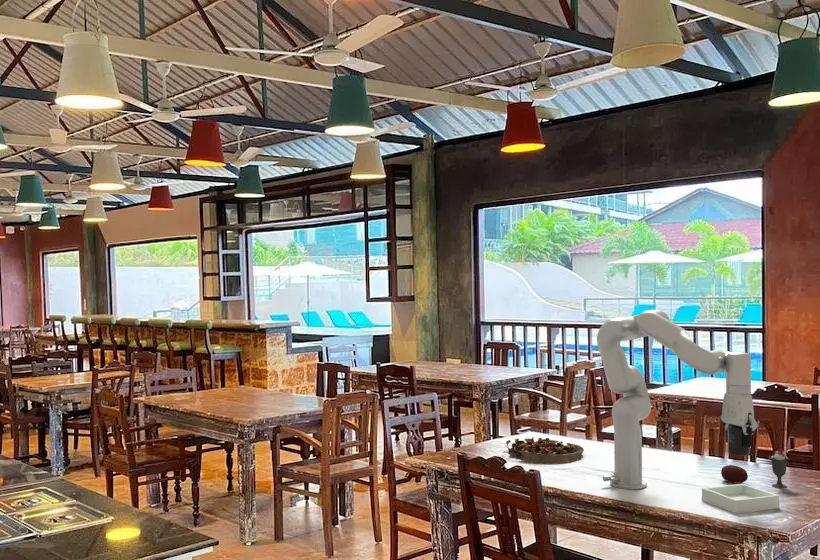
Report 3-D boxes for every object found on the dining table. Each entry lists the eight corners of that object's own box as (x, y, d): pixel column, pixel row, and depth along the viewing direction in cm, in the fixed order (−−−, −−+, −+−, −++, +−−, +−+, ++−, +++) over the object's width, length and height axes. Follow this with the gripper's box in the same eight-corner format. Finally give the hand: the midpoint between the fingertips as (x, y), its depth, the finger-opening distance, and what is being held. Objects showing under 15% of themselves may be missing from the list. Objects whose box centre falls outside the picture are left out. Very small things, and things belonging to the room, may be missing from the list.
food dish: (505, 448, 353) (505, 430, 353) (580, 451, 348) (580, 433, 349) (503, 463, 318) (503, 444, 319) (587, 467, 314) (587, 447, 314)
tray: (736, 513, 248) (736, 500, 248) (701, 500, 263) (701, 488, 263) (779, 508, 253) (779, 495, 253) (743, 495, 268) (743, 483, 268)
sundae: (781, 489, 275) (781, 446, 275) (765, 485, 281) (764, 443, 281) (794, 487, 278) (793, 444, 278) (777, 483, 284) (777, 441, 284)
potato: (728, 478, 292) (728, 461, 292) (753, 484, 283) (752, 467, 283) (715, 481, 288) (715, 464, 288) (740, 487, 279) (740, 469, 279)
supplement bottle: (752, 456, 254) (752, 419, 254) (729, 455, 255) (729, 418, 255) (747, 452, 261) (747, 415, 261) (725, 451, 262) (725, 415, 262)
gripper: (710, 387, 265) (711, 440, 265) (748, 394, 249) (748, 450, 249) (729, 386, 267) (729, 438, 267) (767, 393, 251) (767, 449, 251)
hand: (738, 444), depth 258 cm, fingers closed on supplement bottle, 6 cm apart
